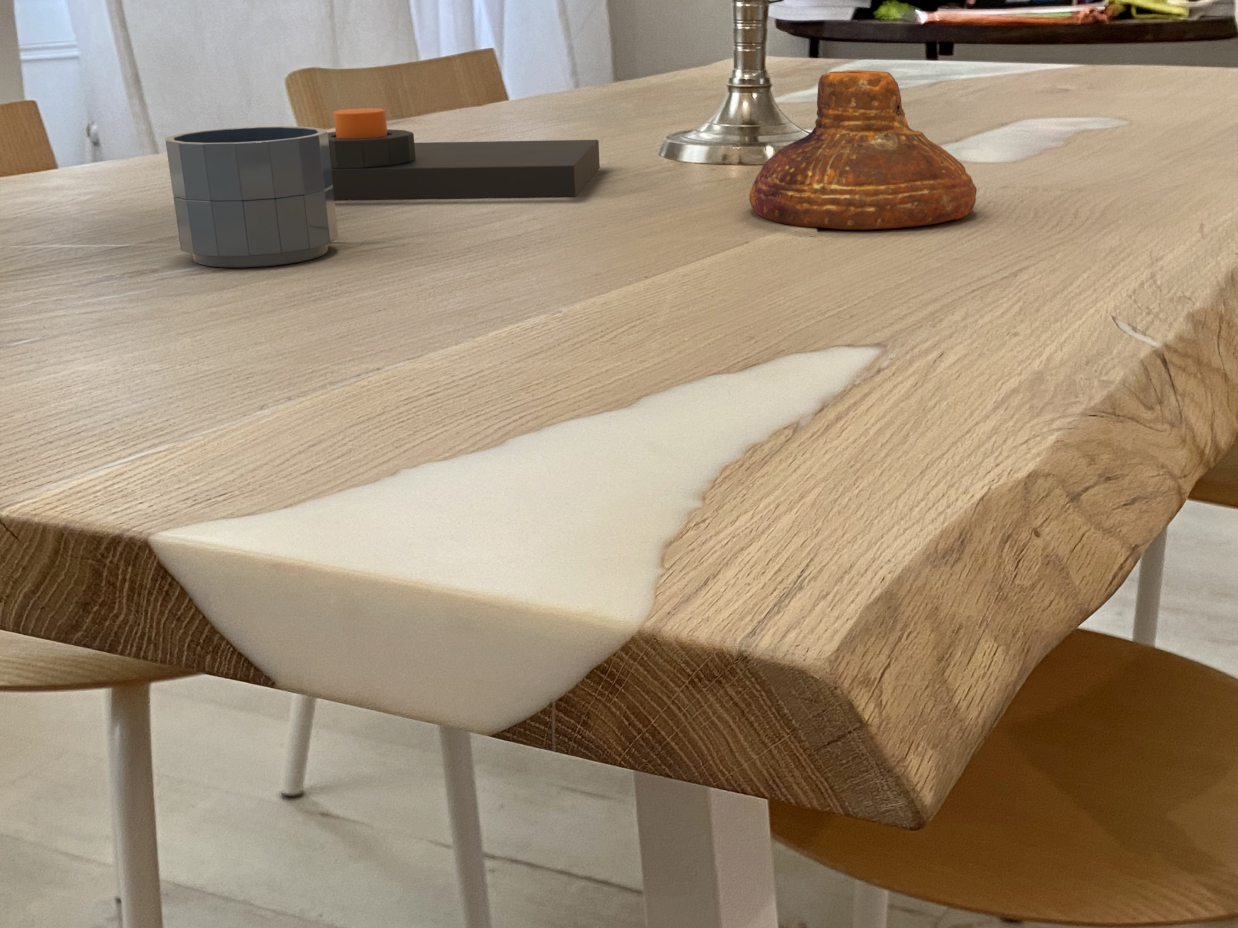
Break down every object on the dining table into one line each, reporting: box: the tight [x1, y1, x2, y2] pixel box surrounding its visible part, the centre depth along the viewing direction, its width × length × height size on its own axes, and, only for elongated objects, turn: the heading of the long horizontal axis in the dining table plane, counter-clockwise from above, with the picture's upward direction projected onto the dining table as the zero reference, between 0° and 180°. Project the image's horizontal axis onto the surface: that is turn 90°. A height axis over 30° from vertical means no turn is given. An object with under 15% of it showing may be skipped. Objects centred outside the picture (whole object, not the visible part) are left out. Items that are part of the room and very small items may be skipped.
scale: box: [327, 128, 601, 202], centre depth 89 cm, size 16×13×4 cm
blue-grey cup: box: [164, 125, 339, 269], centre depth 68 cm, size 7×7×6 cm
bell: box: [748, 69, 978, 231], centre depth 75 cm, size 12×12×7 cm
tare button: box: [333, 107, 388, 138], centre depth 86 cm, size 3×3×2 cm
